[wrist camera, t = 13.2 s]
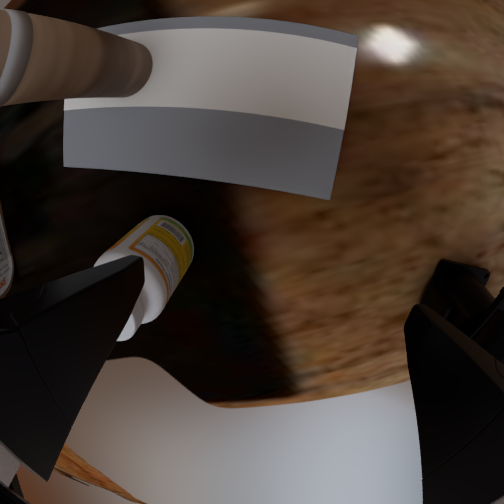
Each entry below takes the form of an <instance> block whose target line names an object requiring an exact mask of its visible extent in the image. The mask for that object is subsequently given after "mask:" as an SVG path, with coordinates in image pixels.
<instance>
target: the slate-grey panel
mask: <svg viewBox="0 0 504 504" xmlns="http://www.w3.org/2000/svg"><path fill="white" fill-rule="evenodd" d="M98 30H102V31H105V32H108V33H111V34H114V35H118V36H121V37H123V38H126V39H129V40H132V41H135V42H138V43H140V44H142V45H144V46H145V47H146V48H147V49H148V50H149V52H150V53H151V56H152V62H153V65H152V72H151V75H150V77H149V79H148V81H147V83H146V84H145V85H144V87H143V88H142V89H141V90H140V91H138V92H137V93H135V94H134V95H132V96H129V97H125V98H73V99H65V102H64V110H65V111H64V141H63V154H64V167H79V168H95V169H110V170H122V171H134V172H144V173H155V174H164V175H173V176H182V177H190V178H198V179H206V180H213V181H220V182H227V183H234V184H241V185H247V186H254V187H260V188H266V189H272V190H278V191H283V192H289V193H294V194H300V195H305V196H310V197H316V198H321V199H326V200H330V197H331V192H332V188H333V183H334V179H335V174H336V169H337V164H338V159H339V154H340V149H341V144H342V138H343V133H344V129H345V123H346V117H347V112H348V106H349V99H350V93H351V87H352V80H353V73H354V66H355V59H356V51H357V41H358V36H356V35H353V34H349V33H345V32H341V31H336V30H332V29H327V28H322V27H317V26H312V25H306V24H300V23H293V22H286V21H278V20H269V19H258V18H244V17H179V18H165V19H154V20H145V21H138V22H130V23H124V24H118V25H113V26H107V27H102V28H98Z"/></svg>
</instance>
